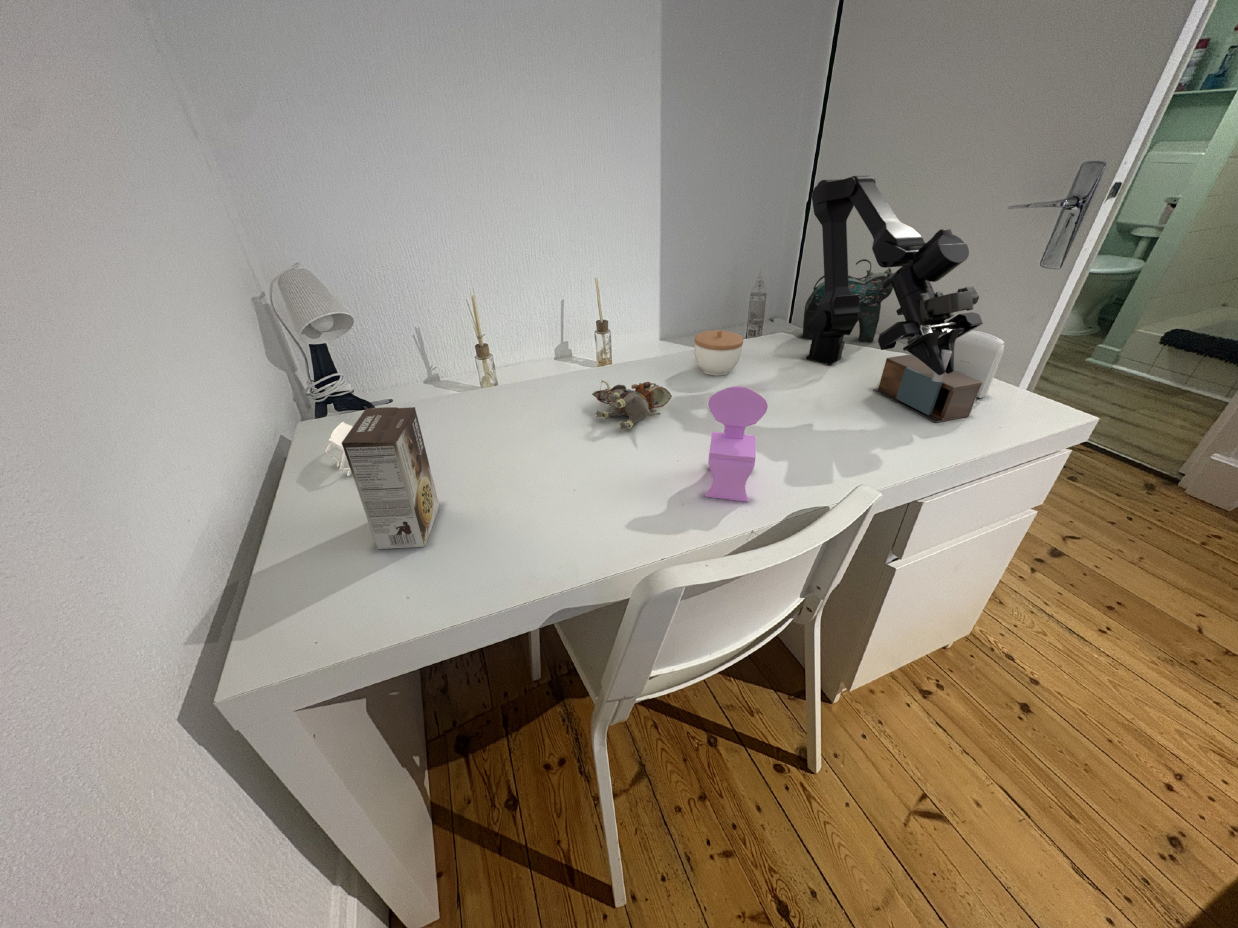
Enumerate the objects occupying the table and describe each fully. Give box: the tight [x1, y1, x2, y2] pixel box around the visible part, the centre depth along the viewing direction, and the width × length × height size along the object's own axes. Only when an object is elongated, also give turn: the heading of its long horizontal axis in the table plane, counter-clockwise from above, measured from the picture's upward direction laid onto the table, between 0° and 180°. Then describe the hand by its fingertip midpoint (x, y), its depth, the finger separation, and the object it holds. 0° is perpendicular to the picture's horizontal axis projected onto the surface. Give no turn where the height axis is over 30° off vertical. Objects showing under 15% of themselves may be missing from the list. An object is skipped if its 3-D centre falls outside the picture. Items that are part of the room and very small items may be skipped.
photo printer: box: [954, 330, 1006, 399], centre depth 104 cm, size 10×4×12 cm, turn 39°
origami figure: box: [324, 421, 354, 477], centre depth 85 cm, size 12×8×5 cm
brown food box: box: [341, 406, 440, 550], centre depth 66 cm, size 9×6×16 cm
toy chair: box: [704, 385, 769, 502], centre depth 74 cm, size 8×9×15 cm
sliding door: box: [896, 350, 952, 415], centre depth 96 cm, size 8×2×12 cm, turn 19°
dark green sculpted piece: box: [802, 258, 894, 343], centre depth 131 cm, size 20×6×20 cm, turn 77°
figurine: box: [591, 380, 673, 430], centre depth 99 cm, size 20×6×17 cm
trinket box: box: [693, 329, 744, 377], centre depth 115 cm, size 11×11×9 cm
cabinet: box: [872, 353, 982, 424], centre depth 101 cm, size 16×8×7 cm, turn 19°
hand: (946, 373), depth 92 cm, fingers closed on sliding door, 2 cm apart
